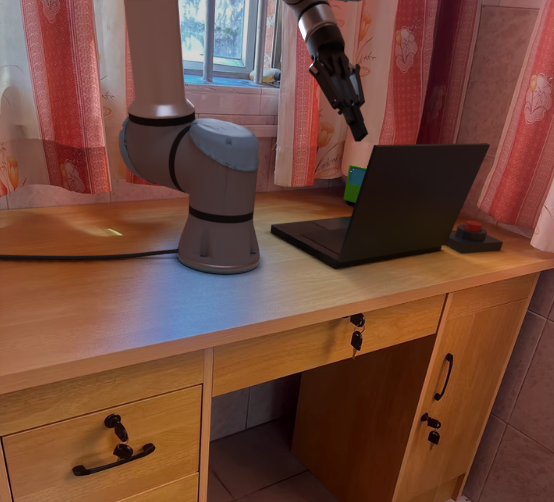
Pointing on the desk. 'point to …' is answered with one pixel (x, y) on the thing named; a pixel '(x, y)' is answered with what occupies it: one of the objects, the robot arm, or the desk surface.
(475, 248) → the switch box
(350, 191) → the toy car
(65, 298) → the desk surface
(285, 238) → the laptop
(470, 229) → the power button
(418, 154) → the laptop screen
